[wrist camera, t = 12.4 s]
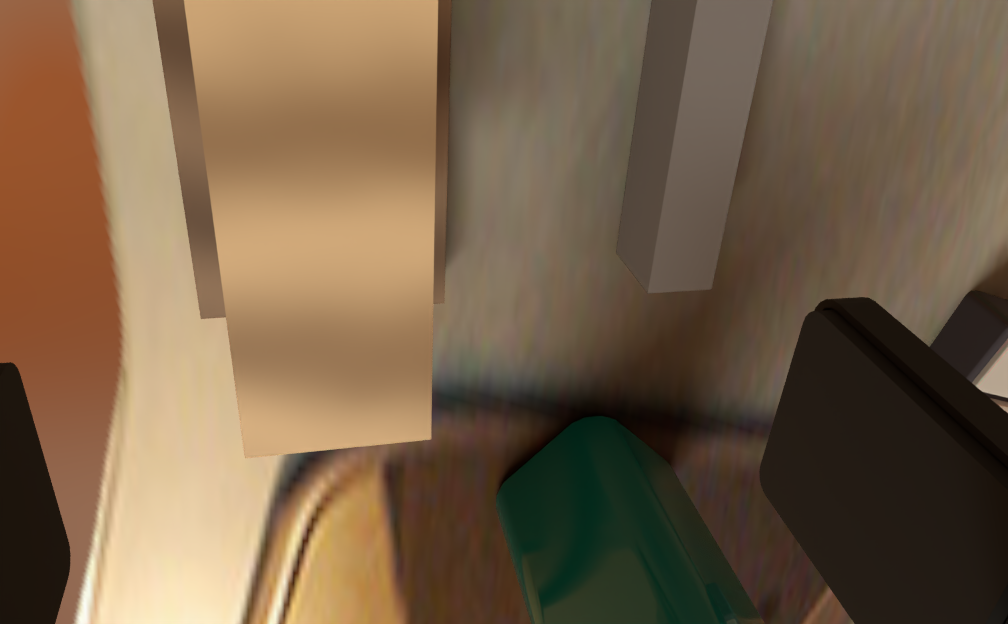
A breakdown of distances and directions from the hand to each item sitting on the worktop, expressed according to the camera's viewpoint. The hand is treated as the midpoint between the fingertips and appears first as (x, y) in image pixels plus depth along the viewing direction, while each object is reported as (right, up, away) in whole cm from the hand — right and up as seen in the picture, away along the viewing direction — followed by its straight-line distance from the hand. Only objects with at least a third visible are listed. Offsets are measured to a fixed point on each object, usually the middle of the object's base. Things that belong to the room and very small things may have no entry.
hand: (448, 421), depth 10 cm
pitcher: (+5, -8, +36) cm, 37 cm away
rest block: (+8, +13, +24) cm, 28 cm away
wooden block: (-5, +8, +14) cm, 17 cm away
